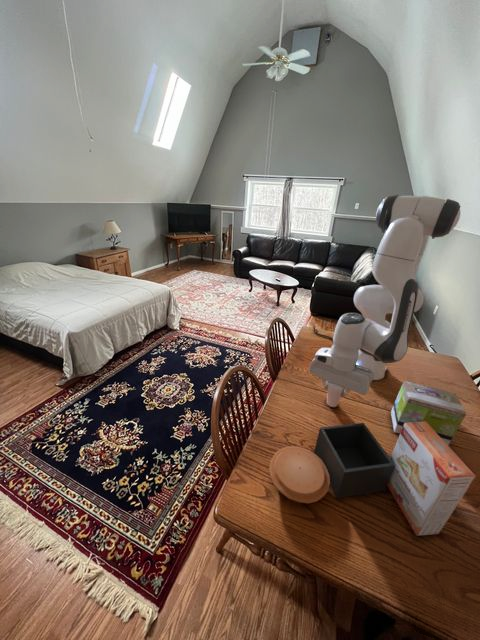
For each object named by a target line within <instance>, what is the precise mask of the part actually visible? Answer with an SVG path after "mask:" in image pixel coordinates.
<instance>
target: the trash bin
mask: <svg viewBox="0 0 480 640" xmlns="http://www.w3.org/2000/svg"><path fill="white" fill-rule="evenodd" d="M313 453H314V454H316V455H317V456H318V457H319V458H320V459H321V460H322V461H323V463H324V465H325V466H326V468H327V470H328V473H329V475H330V486H329V487H331V490H332V492H333V494H334V497H335V498H336V499H339V498H340V499H342V498H345V497H353V496H359V495H366V494H372V493H378V492H384V491H386V488H387V487H388V486H387V484H388V482H389V479H390V477H391V475H392V472H393V470H394V468H395V464H394V463H393V461H392V460H391V459H390V457H391V456H389V455H388V453H387V452H386V450H385V449H384V448H383V447H382V445H381V444H380V442H379V441H378V440H377V438H376V437H375V435H374V434H373V433H372V432H371V431H370V429H369V428H368V426H367V425H366V424H365V422H360V423H359V422H357V423H350V424H339V425H332V426H331V425H330V426H321V427H319V430H318V434H317V438H316V443H315V446H314V451H313Z"/></svg>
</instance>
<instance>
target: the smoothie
mask: <svg viewBox="0 0 480 640" xmlns="http://www.w3.org/2000/svg"><path fill="white" fill-rule="evenodd" d="M327 383H328V391H327V390H326V391H327V393H326V404H327V405H328V406H329V407H331V408H336V407H337V406H338V404H339V402H340V400H341V397H342V396H341V394H342V392H343V391H345V390H346V388H344V387H342V386H339V385H337V384H334V383H332V382H329V381H327Z"/></svg>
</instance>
